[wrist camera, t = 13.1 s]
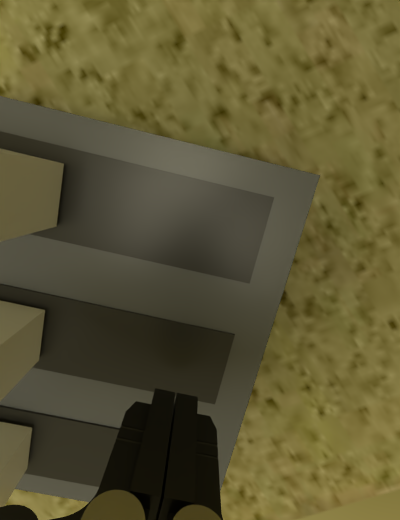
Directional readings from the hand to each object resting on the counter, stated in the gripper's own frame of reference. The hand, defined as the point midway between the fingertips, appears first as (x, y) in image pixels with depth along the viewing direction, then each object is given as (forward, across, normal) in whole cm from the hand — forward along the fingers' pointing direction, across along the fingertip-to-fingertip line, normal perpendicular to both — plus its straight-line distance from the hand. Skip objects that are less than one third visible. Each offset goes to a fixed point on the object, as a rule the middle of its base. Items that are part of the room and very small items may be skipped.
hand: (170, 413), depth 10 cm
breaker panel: (+6, +3, 0) cm, 7 cm away
